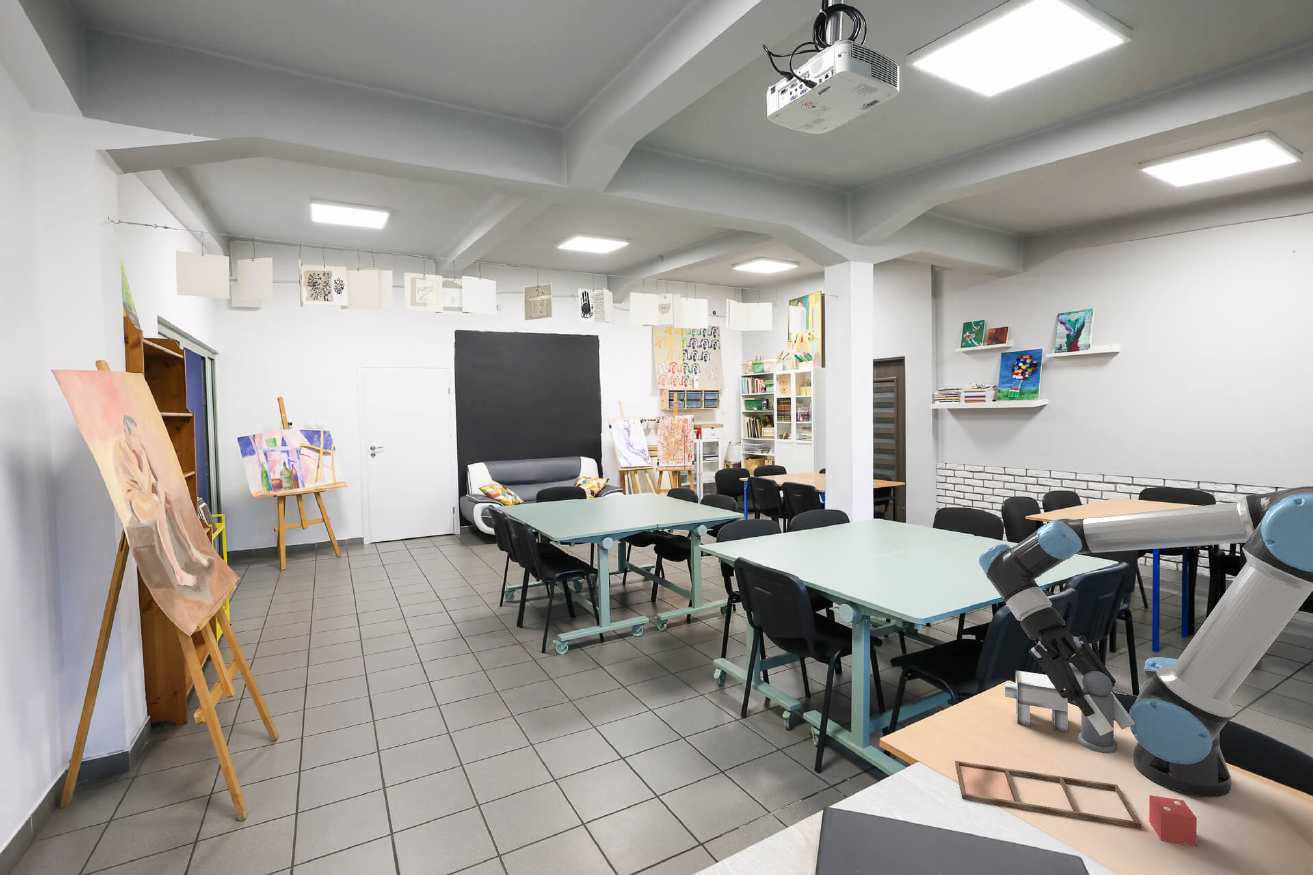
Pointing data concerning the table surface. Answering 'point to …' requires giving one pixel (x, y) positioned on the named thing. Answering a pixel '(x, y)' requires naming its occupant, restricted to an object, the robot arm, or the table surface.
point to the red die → (1173, 820)
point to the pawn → (1101, 695)
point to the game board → (995, 789)
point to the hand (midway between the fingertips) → (1117, 729)
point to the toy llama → (1040, 697)
